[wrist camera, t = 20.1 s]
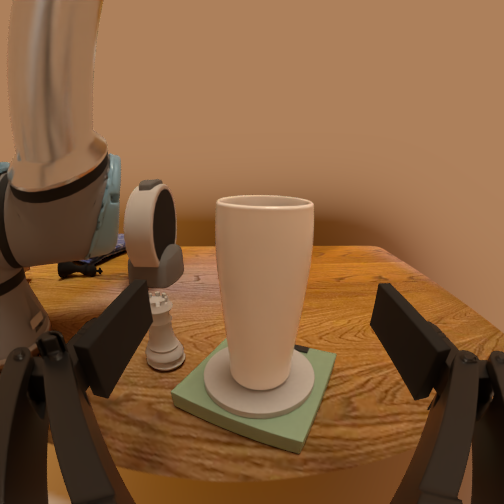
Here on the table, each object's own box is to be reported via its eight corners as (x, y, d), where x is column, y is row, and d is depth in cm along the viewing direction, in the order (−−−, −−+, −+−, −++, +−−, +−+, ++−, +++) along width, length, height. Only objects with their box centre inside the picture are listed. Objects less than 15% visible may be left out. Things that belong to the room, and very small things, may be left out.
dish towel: (89, 254, 52) (91, 267, 53) (154, 234, 74) (154, 244, 74) (54, 249, 57) (55, 260, 58) (114, 232, 79) (115, 241, 80)
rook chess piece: (141, 356, 28) (127, 294, 26) (174, 344, 31) (165, 284, 29) (157, 378, 25) (143, 312, 23) (193, 363, 28) (185, 299, 25)
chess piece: (63, 252, 48) (104, 256, 51) (66, 270, 50) (105, 274, 53) (56, 263, 45) (98, 267, 47) (59, 281, 47) (100, 286, 49)
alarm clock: (171, 292, 44) (163, 181, 39) (118, 289, 44) (106, 185, 39) (190, 260, 60) (187, 176, 54) (147, 259, 60) (142, 178, 54)
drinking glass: (241, 410, 19) (239, 209, 14) (211, 361, 24) (202, 197, 20) (312, 382, 22) (336, 205, 17) (273, 343, 27) (280, 194, 23)
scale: (174, 405, 22) (168, 385, 21) (235, 342, 32) (234, 323, 31) (299, 454, 17) (304, 436, 16) (333, 367, 27) (338, 347, 26)
